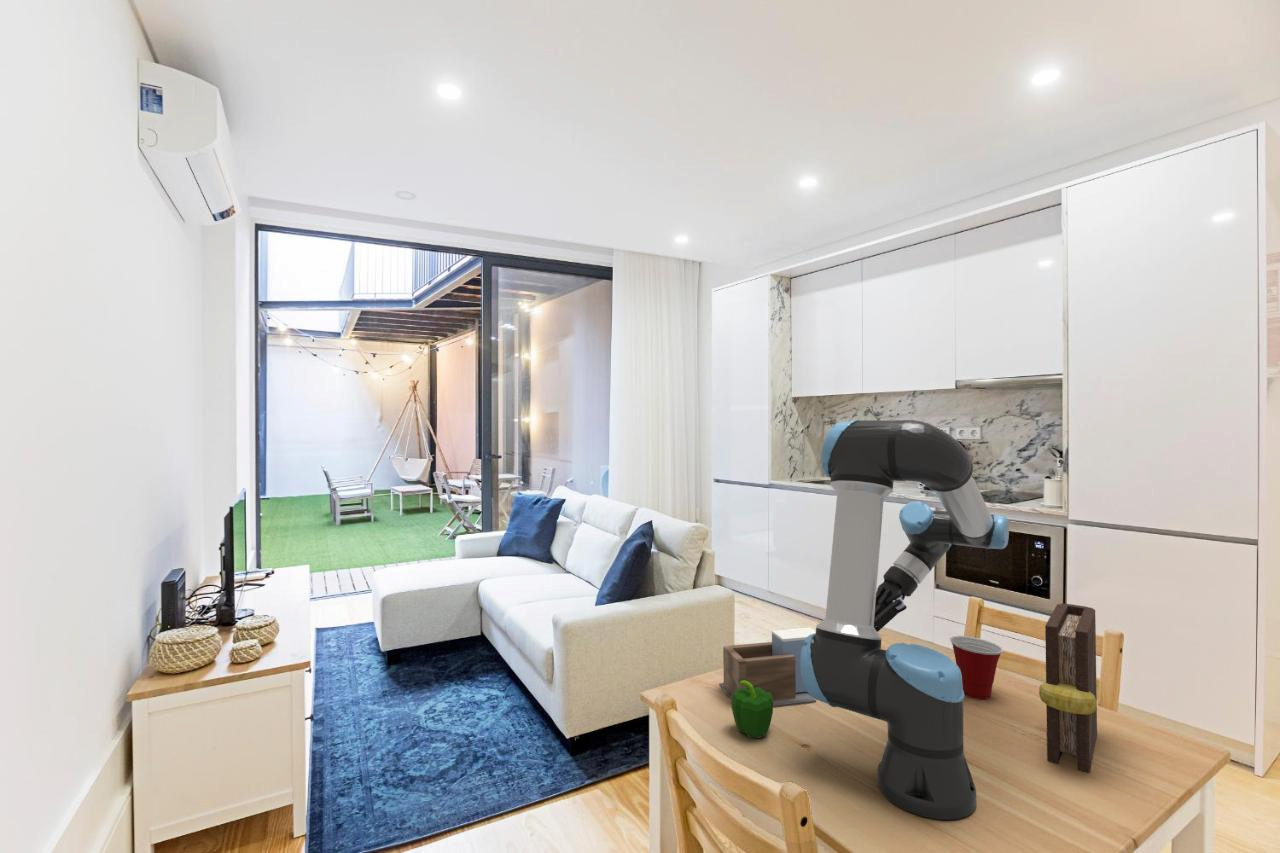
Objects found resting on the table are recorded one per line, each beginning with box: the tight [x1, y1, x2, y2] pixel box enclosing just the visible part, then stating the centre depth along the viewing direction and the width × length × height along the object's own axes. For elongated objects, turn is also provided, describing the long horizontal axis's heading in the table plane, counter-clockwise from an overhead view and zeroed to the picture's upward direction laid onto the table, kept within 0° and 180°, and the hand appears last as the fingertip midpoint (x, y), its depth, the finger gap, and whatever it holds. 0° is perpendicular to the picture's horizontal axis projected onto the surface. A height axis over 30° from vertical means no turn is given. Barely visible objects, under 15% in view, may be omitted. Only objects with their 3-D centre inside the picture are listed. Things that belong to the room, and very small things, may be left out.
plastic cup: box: [949, 635, 1004, 700], centre depth 140 cm, size 11×11×12 cm
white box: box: [771, 627, 816, 693], centre depth 143 cm, size 6×10×13 cm, turn 103°
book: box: [1038, 603, 1098, 774], centre depth 116 cm, size 22×8×25 cm, turn 139°
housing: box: [718, 641, 817, 708], centre depth 141 cm, size 14×18×10 cm
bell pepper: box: [731, 680, 774, 739], centre depth 123 cm, size 8×8×10 cm
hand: (845, 648), depth 146 cm, fingers closed
